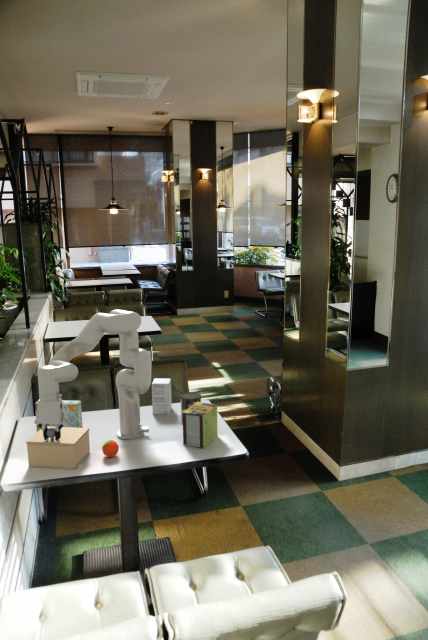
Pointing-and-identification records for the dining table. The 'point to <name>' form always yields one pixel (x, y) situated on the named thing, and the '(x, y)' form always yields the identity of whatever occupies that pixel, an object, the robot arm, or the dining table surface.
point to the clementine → (110, 448)
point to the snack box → (69, 414)
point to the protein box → (199, 424)
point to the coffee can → (188, 401)
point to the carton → (58, 454)
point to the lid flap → (68, 437)
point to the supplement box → (161, 396)
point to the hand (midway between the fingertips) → (52, 438)
